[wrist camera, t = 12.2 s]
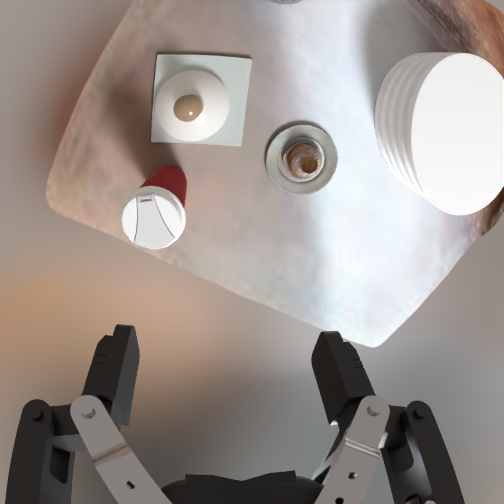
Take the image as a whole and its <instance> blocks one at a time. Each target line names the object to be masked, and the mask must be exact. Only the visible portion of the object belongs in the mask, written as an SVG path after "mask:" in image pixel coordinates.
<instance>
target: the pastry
mask: <svg viewBox="0 0 504 504" xmlns="http://www.w3.org/2000/svg"><path fill="white" fill-rule="evenodd" d="M295 137H309V138H311V139H313V140H315V141H316V142H317V143H318V144H319V145H320V146H321V148H322V150H323V152H324V165H323V168H322V170H321V171H320V173H319V174H318V175H317V176H316V177H315V178H313V179H311V180H309V181H306V182H295V181H292V180H289V179H288V178H286V177H285V176H284V175H283V174H282V172H281V170H280V168H279V165H278V156H279V152H280V150H281V148H282V147H283V145H284V144H285V143H286V142H287V141H289V140H291V139H293V138H295ZM337 161H338V156H337V150H336V147H335V145H334V143H333V141H332V140H331V138H330V137H329V136H328V135H327V134H326V133H325V132H324V131H322V130H321V129H319V128H317V127H315V126H311V125H294V126H292V127H289V128H286V129H285V130H283V131H281V132H280V133H279V134H278V135H276V136H275V138H274V139H273V140H272V142H271V144H270V146H269V148H268V150H267V155H266V168H267V172H268V174H269V176H270V178H271V180H272V181H273V182H274V184H275V185H276V186H277V187H279V188H280V189H281V190H283V191H285V192H287V193H289V194H293V195H306V194H311V193H314V192H316V191H319V190H320V189H322V188H323V187H324V186H326V185H327V184H328V183H329V181H330V180H331V178H332V176H333V175H334V173H335V171H336V167H337ZM283 162H284V166H285V168H286V169H287V171H288V172H289V173H290V174H291V175H292V176H293V177H295V178H297V179H306V178H310V177H311V176H313V175H314V174H317V173H318V171H319V169H320V167H321V164H322V154H321V152H320V150H319V149H318V147H317V146H316V145H315V144H314V143H312V142H309V141H307V142H306V141H301V142H298V143H296V144H294V145H293V146H291V147H290V148H289V149H288V150H287V152H286V153H285V154H284V156H283Z"/></svg>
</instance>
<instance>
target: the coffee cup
mask: <svg viewBox="0 0 504 504" xmlns="http://www.w3.org/2000/svg"><path fill="white" fill-rule="evenodd" d="M186 190H187V181H186V177H185V175H184V173H183V172H182V171H181V170H180V169H178V168H176V167H173V166H165V167H162V168H160V169H158V170H157V171H156V172H154V173H153V174H152V175H151V176H150V177H149V178H148V179H147V180H146V181H145V182H144V183H143V184H142V185H141V187H140V188H139V189H136V190H135V191H133V192H132V193H131V194H130V195H129V196H128V197H127V198H126V199H125V201H124V203H123V206H122V209H121V221H122V226H123V229H124V231H125V233H126V235H127V236H128V237H129V239H130V240H131V241H132V242H134V243H136V244H138V245H140V246H142V247H145V248H149V249H161V248H164V247H167V246H169V245H170V244H171V243H173V242H174V241H175V240H177V239H178V238H179V236H180V235H181V233H182V232H183V229H184V226H185V220H186V219H185V211H184V207H185V198H186Z"/></svg>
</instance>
